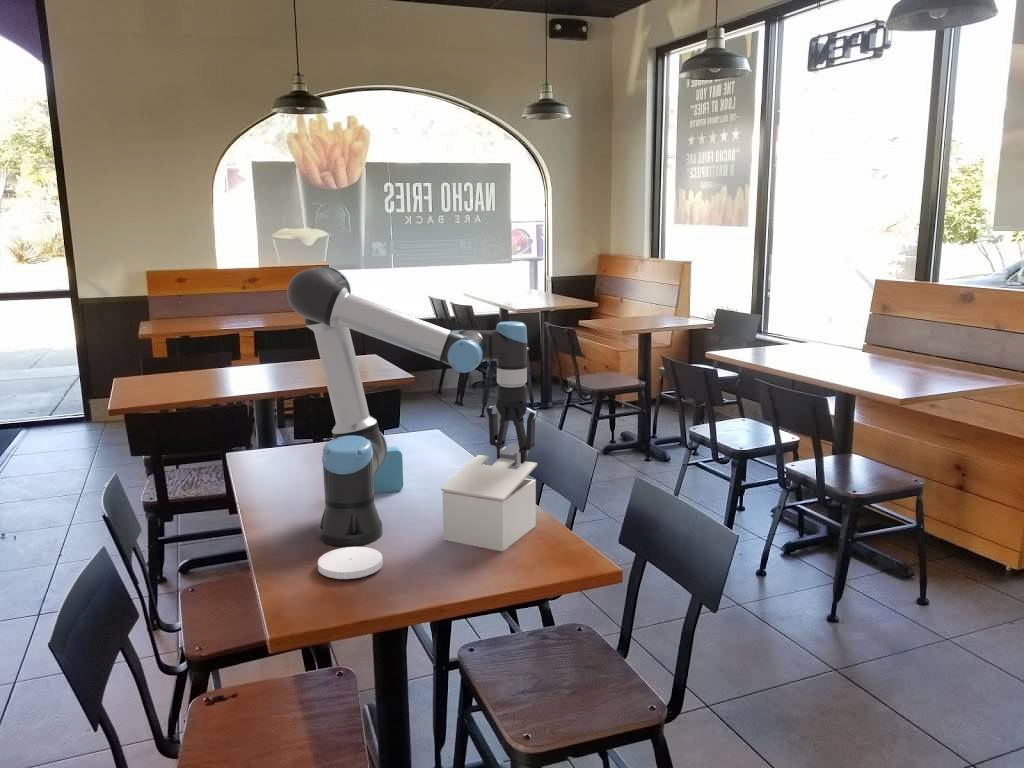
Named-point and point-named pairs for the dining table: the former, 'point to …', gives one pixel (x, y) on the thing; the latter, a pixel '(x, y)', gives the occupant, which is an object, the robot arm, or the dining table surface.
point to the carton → (490, 517)
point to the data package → (389, 472)
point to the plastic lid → (350, 562)
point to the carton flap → (490, 476)
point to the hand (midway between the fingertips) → (512, 473)
